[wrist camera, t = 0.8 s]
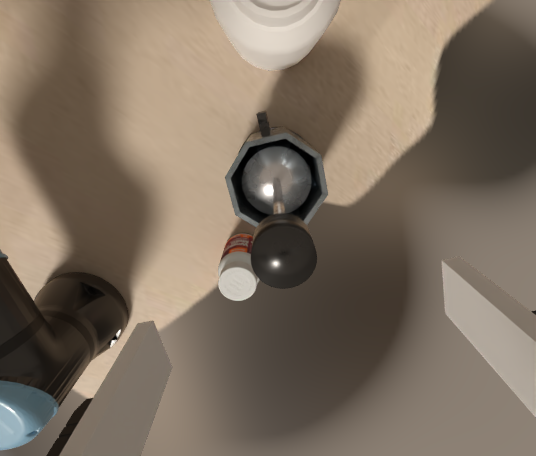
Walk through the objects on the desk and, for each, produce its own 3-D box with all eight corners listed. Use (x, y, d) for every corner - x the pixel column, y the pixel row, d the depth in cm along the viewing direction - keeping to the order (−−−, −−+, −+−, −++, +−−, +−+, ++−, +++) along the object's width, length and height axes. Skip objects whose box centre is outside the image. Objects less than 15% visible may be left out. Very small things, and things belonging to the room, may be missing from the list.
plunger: (251, 219, 44) (234, 329, 22) (235, 154, 41) (196, 209, 20) (316, 205, 43) (362, 304, 22) (303, 138, 40) (342, 176, 19)
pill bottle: (248, 225, 54) (242, 254, 44) (269, 254, 56) (269, 289, 45) (217, 245, 56) (204, 278, 45) (239, 273, 57) (232, 311, 47)
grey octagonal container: (247, 211, 54) (241, 241, 42) (223, 120, 49) (208, 125, 37) (320, 195, 53) (334, 221, 41) (302, 101, 48) (313, 100, 36)
